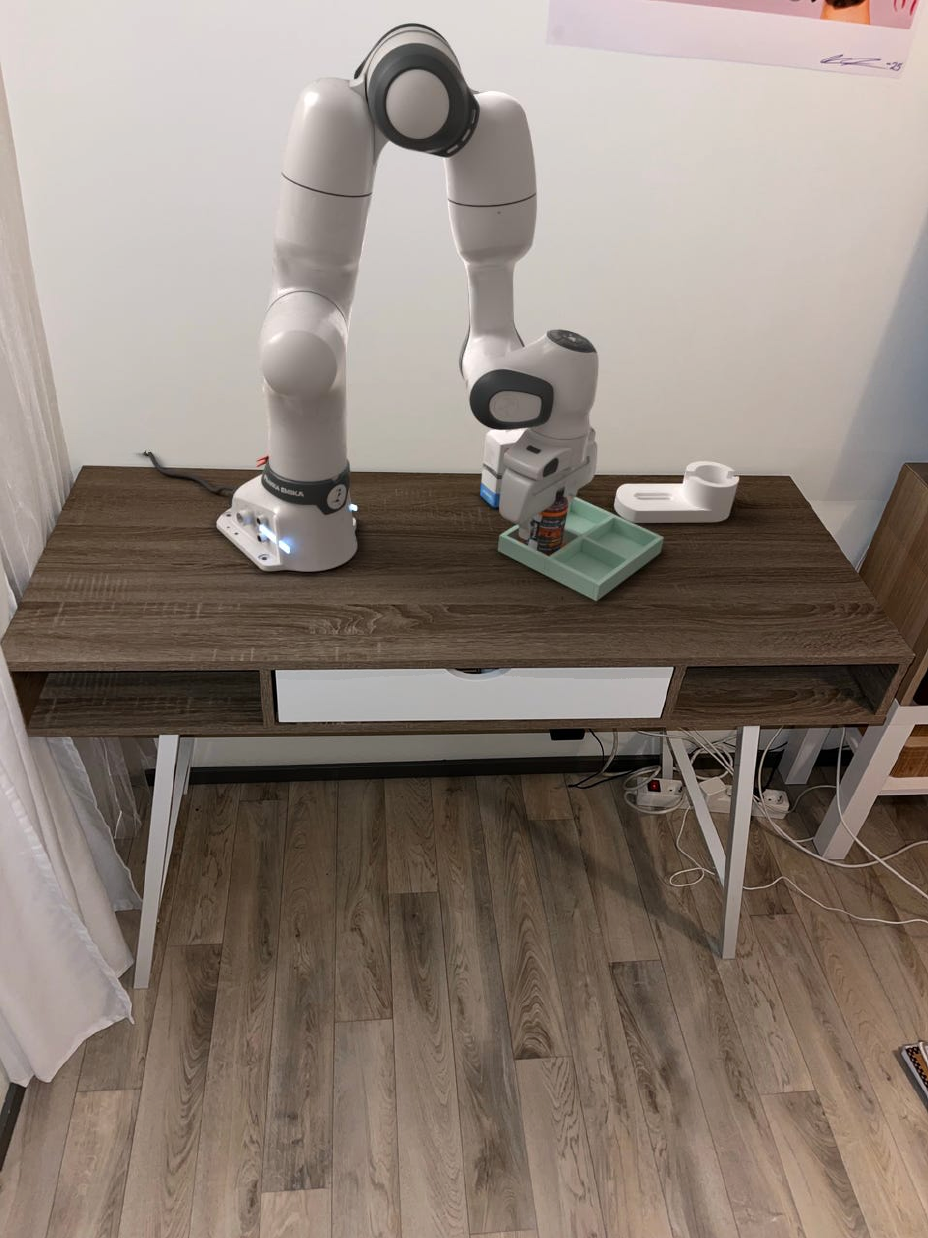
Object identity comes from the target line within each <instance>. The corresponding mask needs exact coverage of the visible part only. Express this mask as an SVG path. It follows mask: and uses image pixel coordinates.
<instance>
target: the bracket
mask: <svg viewBox="0 0 928 1238" xmlns="http://www.w3.org/2000/svg"><path fill="white" fill-rule="evenodd" d="M735 473H736V470H734V469H733V468H732V467H730V466H728V465H725V464H723V463H719V462H715V461H710V460H699V461H693V462H691V463H689V464H688V465H687V466H686V468H685V472H684V476H683V480H682V483H624V484H622V485H620V486H619V487H618V488H617V490H616V492H615V498H614V503H613V508H614V510H615V512H616V513H617V514H618V515H619V517H621V518H623V519H625V520H627V521H629V522H631V523H634V524H662V523H663V524H668V523H669V524H670V523H672V524H673V523H674V524H676V523H677V524H678V523H681V524H682V523H683V524H684V523H719V522H723V521H725V520H727V519H728V518H729V516H730V514H731V509H732V506H733V502H734V499H735V496H736V492H737V488H738V484H739V481H740V476H739V475H738V476H735Z"/></svg>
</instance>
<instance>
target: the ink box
mask: <svg viewBox="0 0 928 1238" xmlns="http://www.w3.org/2000/svg"><path fill="white" fill-rule="evenodd" d="M526 429H527V428H523V429H512V430H496V429H491V430H489V431H488V432H485V433H486V434H485V442H484V451H483V462H482V463H483V464H482V472H481V483H480V494H479V495H480V497H482V499H484V500H485V501H486V502H487V503H488V504H489V505H490V506H491V507H493V508H494V509H496V508H499V502H500V492H501V485H502V479H503V476H504V473H505V472H506V470H507V469H508V467H507V466H505V465H504V463H503V460H504V455H505V453H506V452H507V451H508V450H509V449H510V448H511V447H512V446H513V445H514V444H515V443H516V442H517V440H518V439H519V438H520V437H521V435H522V434H523V432H524V431H525V430H526Z"/></svg>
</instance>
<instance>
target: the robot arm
mask: <svg viewBox="0 0 928 1238" xmlns="http://www.w3.org/2000/svg"><path fill="white" fill-rule="evenodd" d="M466 81H467V80H466V79H465V76H464V74H463V71H462V68H461V64H460V61H459V60H458V57H457V55H456V54H455V51H454V50H453V48H452V47H451V45H450V43H449V42H448V41H447V39H446V38H445V37H444V36H443V35H442V34H441V33H439V31H437V30H436V29H434V28H432V27H431V26H428V25H425V24H421V23H416V22H415V23H414V22H410V23H403V24H400V25H397V26H395V27H393V28H391V29H389V30H388V31H387V32H385V33H384V34H383V35H382V36H381V37H380V38H379V39H378V40H377V42H376V43H375V44H374V46H373V47H372V48H371V50H370V51H369V53H368V54H367V55H366V56H365V57H364V59H363V61H362V62H361V63H360V64H359V66H358V67H356V70H355V72H354V74H353V79H347V78H340V77H334V76H331V77H327V76H326V77H321V78H318V79H315V80H314V79H313V80H312V81H310V82H308V83H307V84H306V85H304V87H302V89H301V90H300V92H299V94H298V97H297V99H296V103H295V105H294V109H293V112H292V115H291V119H290V123H289V127H288V131H287V135H286V139H285V145H284V149H283V156H282V164H281V171H280V181H279V189H278V198H277V204H276V205H277V206H276V214H275V224H274V232H273V249H272V267H271V280H270V289H269V299H268V303H267V308H266V312H265V317H264V320H263V322H262V323H263V324H262V327H261V330H260V333H259V337H258V343H257V349H258V363H259V371H260V379H261V385H262V386H261V387H262V393H263V399H264V404H265V405H264V406H265V412H266V425H267V427H266V428H267V445H268V446H267V447H268V454H267V455H265V456H263V457H260V458H258V459H256V460H255V462H257V464H256V465H255V466H256V468H259V467H261V466H264V468H263V471H262V473H261V474H259V475H257V476H256V477H254V478H252V479H250V480H249V481H246V482H245V483H243V484H242V485H240V486H239V487H234V486H231V485H220V486H219V487H217V488H214V487H213V486H211V485H210V484H209V483H208V482H206V481H205V480H204V479H203V478H201V477H200V476H197V475H194V474H191V473H185V472H177V471H171V470H167V469H164V468H163V467H161V465H159V463H158V461H157V459H156V458H155V455H154V454H153V452H152V451H151V452H148V454H147V453H146V451H147V450H145V451H144V452H143V453H142V455H143V456H148V457H149V460H150V461H151V463H152V465H153V467H154V468H155V469H157V471H158V472H159V473H161V474H163V475H166V476H170V477H175V478H182V479H183V478H184V479H189V480H193V481H195V482H198V483H199V484H201V485H202V486H203V487H205V488H206V489H207V490H208V491H209V492H211V493H214V494H220V493H222V492H223V491H228V501H229V507H230V508H229V509H226V511H224V512H223V513H221V514H220V516H219V517H218V518H217V520H216V528H217V530H218V531H219V532H220V533H221V534H222V535H224V536H225V537H226V538H227V539H228V540H229V541H230V542H231V543H232V544H233V545H235V547H236V548H238V549H239V550H240V551H241V552H242V553H243V554H244V555H245V556H246V557H247V558H248V559H250V560H251V562H253V564H255V566H257V567H258V568H259V569H260V570H262V571H263V572H279V571H295V572H306V573H307V572H310V573H311V572H321V571H327V570H331V569H334V568H336V567H339V566H342V565H343V564H345V563H347V562H348V561H350V560H351V559H352V558H353V557H354V556H355V554H356V552H357V549H358V540H357V537H356V536H357V535H356V530H357V520H356V518H355V517H353V516H354V515H353V511H356V512H357V510H358V506H357V505H355V504H353V503H352V497H351V489H350V487H351V474H352V473H351V465H350V464H351V463H350V460H349V459H348V404H347V402H348V401H347V351H348V349H347V348H348V340H349V333H350V332H349V331H350V322H351V317H352V311H353V305H354V299H355V293H356V287H357V283H358V277H359V272H360V266H361V261H362V256H363V251H364V246H365V240H366V232H367V228H368V227H367V226H368V221H369V214H370V210H371V203H372V196H373V190H374V184H375V178H376V172H377V167H378V163H379V159H380V155H382V154H381V153H382V151H383V149H384V148H385V146H386V145H387V144H388V143H389V142H390V143H392V144H393V145H395V146H396V147H397V146H398V147H399V148H402V149H404V150H408V151H411V152H417V153H422V154H425V155H426V154H427V155H431V156H435V157H439V158H442V160H443V166H444V172H445V183H446V197H447V198H446V199H447V210H448V216H449V225H450V228H451V233H452V238H453V241H454V245H455V248H456V251H457V254H458V255H459V257H460V258H461V260H462V262H463V264H464V267H465V271H466V276H467V277H466V278H467V295H468V299H467V300H468V317H469V318H468V319H469V321H468V322H469V323H468V328H467V332H466V335H465V337H464V340H463V343H462V346H461V349H460V351H459V357H458V366H459V367H458V368H459V371H460V375H461V377H462V380H463V382H464V386H465V391H466V394H467V399H468V403H469V407H470V410H471V413H472V415H473V416H474V418H475V419H476V420H477V421H478V422H479V423H480V424H482V425H483V426H485V427H486V428H489V429H491V430H512V429H523V428H527V429H526V430H525V431H524V432H523V434H522V435H521V437H520V438H519V439H518V440H517V442H516V443H515V444H514V445H513V446H512V447H511V448H510V449H509V450H508V451H507V452H506V453H505V455H504V460H503V463H504V465H505V466H507V467H508V469H507V470H506V472H505V473H504V476H503V479H502V485H501V492H500V502H499V507H498V510H499V514H500V516H501V517H502V518H503V519H505V520H507V521H508V522H510V523H513V524H515V525H519V536H520V537H521V538H523V539H525V540H528V539H529V538H531V537H532V536H533V535H534V529H535V527H533V526H531V525H530V522H531V521H532V520H533V517H534V516H535V515H537V514H539V513H540V512H542V511H544V510H545V509H547V508H549V507H550V506H551V505H552V504H553V503H554V501H555V500H556V498H555V497H556V491H557V490H559V489H561V488H563V487H565V491H564V495H563V496H564V497H566V498H567V499H568V510H567V514H569V512H570V506H571V504H572V502H573V500H574V498H575V497H577V494H578V491H579V490H580V489H582V488H583V487H584V486H587V485H588V484H589V483H591V482H592V480H593V479H594V477H595V476H596V471H597V462H598V444H597V442H596V430H595V427H594V428H593V427H592V425H591V421H590V413H591V411H592V408H593V407H594V404H595V401H596V395H597V390H598V389H597V388H598V380H599V366H600V364H599V363H600V362H599V353H598V351H597V349H596V348H595V346H594V344H593V343H592V342H591V341H590V340H589V339H588V338H586V336H585V337H584V336H583V335H581V334H579V333H577V332H574V331H571V330H567V329H561V328H560V329H559V328H558V329H550V330H548V331H546V332H545V334H543V335H542V336H541V337H539V338H538V339H536V340H535V341H533V342H531V343H529V344H527V345H525V343H524V341H523V339H522V337H521V335H520V334H519V332H518V330H517V328H516V325H515V314H514V313H515V310H514V308H515V307H514V272H515V266H516V265H517V264H516V263H518V262H519V261H520V260H522V259H523V258H524V257H525V256H526V255H527V254H528V252H529V251H530V250H531V248H532V246H533V244H534V238H535V233H536V225H537V215H538V184H537V182H538V181H537V167H536V158H535V150H534V144H533V143H534V142H533V138H532V131H531V128H530V123H529V118H528V114H527V111H526V109H525V107H524V105H523V104H522V103H521V102H520V101H519V100H518V99H516V98H515V97H513V96H511V95H510V94H508V93H504V92H502V91H501V92H500V91H495V90H488V91H478V90H474V89H472V88H471V87H469V85H468V84H467V82H466Z"/></svg>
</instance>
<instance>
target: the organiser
mask: <svg viewBox="0 0 928 1238" xmlns="http://www.w3.org/2000/svg"><path fill="white" fill-rule="evenodd" d="M664 540H665V537H664V536H662V535H659V534H657V533H655V532H654V531H651V530H650V529H647V528H644V527H643V526H640V525H638V524H637V523H634V522H631V521H628V520H626V519H625V518H623V517H621V516H618V515H616V514H614V513H612V512H610V511H608V510H605V509H603V508H601V507H599V506H597V505H594V504H592V503H590V502H588V501H585V500H584V499H581V498H579V497H577V496H575V498H574V500H573V502H572V504H571V506H570V512H569V514H567V517H566V523H565V528H564V534H563V540H562V545H561V549H559V550H558V551H556V552H555V553H553V554H552V555H550V556H547V555H545V554H543V553H541V552H539V551H537V550H535V549H533V548H531V547H529V546H527V545H525V544H523V541H524V539H523V538H521V537H520V536H519V525H517V524H515V525H514V526H511V527H510V528H509V529H507V530H506V531H504V532H502V533H501V534H499V536H498V544H497V552H499V553H501V554H503V555H505V556H507V557H509V558H511V559H513V560H515V561H518V562H519V563H520V564H523V565H525V566H527V567H528V568H530V569H532V570H535V571H536V572H538V573H541V574H542V575H545V576H546V577H548V578H550V579H552V580H554V581H555V582H558V583H560V584H562V585H564V586H566V587H568V588H570V589H571V590H573V591H575V592H578V593H579V594H582V595H583V596H586V597H587V598H589V599H591V600H593V601H595V602H597V601H599V600H600V599H602V598H603V597H604V596H606V595H607V594H608V593H610V592H611V591H612V590H613V589H615V588H616V587H618V586H619V585H620V584H621V583H622V582H624V581H625V580H627V579H628V578H629V577H630V576H632V575H633V574H634V573H636V572H637V571H638V570H640V569H641V568H642V567H644V566H645V565H647V564H648V563H649V562H651V561H652V560H653V559H654V558H655V557H657V556H658V555H660V554H661V553H662V549H663V548H662V547H663V545H664Z"/></svg>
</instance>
